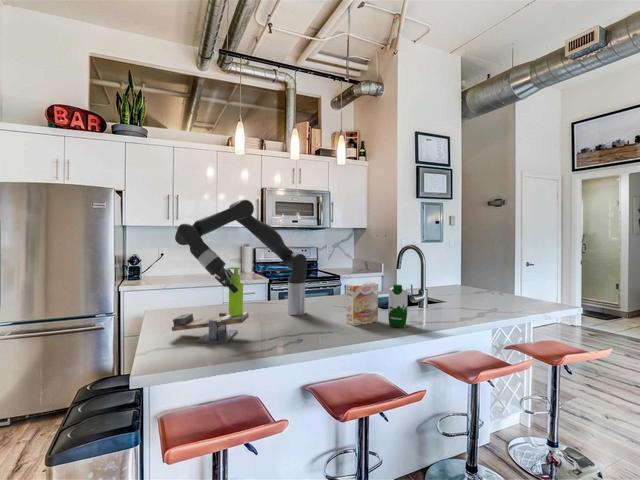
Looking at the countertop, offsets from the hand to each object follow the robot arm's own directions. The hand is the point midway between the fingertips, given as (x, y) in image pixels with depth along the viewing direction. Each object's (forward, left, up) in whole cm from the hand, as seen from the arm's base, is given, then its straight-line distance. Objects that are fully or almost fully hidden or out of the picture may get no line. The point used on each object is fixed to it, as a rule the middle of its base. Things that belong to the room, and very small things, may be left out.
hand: (238, 290), depth 147 cm
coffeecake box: (-54, -29, -21) cm, 65 cm away
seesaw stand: (+9, 0, -20) cm, 22 cm away
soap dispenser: (+2, 0, -10) cm, 11 cm away
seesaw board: (+12, 0, -15) cm, 19 cm away
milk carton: (-71, -25, -21) cm, 78 cm away
